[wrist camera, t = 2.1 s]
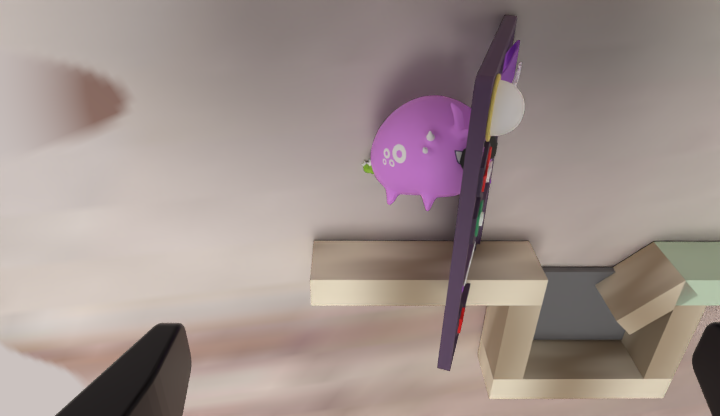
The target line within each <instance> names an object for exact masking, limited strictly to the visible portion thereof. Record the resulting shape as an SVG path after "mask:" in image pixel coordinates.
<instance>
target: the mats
mask: <svg viewBox="0 0 720 416" xmlns="http://www.w3.org/2000/svg"><path fill="white" fill-rule="evenodd" d="M542 268H543V271H544V273H545V275H546V277H547V279H548V283H547V287H546V291H545V295H544V299H543V303H542V306H541V310H540V314H539V318H538V322H537V326H536V330H535V334H534V337H533V340H622V338H623V336H624V333H625V331H626V330H625V329H624V328H623V327H622V326H621V325H620V324H619V323H618V322H617V321H616V320H615V318H614V316H613V315H612V313H611V311H610V310H609V308H608V306H607V305H606V303H605V301H604V300H603V298H602V296H601V295H600V293H599V291H598V290H597V288H596V286H595V285H596V284H598V283H599V282H601V281H602V280H604V279H605V278H607V277H609V276H610V275H612V274H613V273H615V270H614V269H613V267H542Z"/></svg>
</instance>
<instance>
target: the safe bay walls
mask: <svg viewBox="0 0 720 416" xmlns="http://www.w3.org/2000/svg"><path fill="white" fill-rule="evenodd" d="M654 243H655V244H656V245H657V247H658V248H659V249H660V250H661V251H662V253H663V254H664V255H665V256H666V258H667V259H668V260H669V261H670V262H671V264H672V265H673V266H674V267H675V268H676V270H677V271H678V272H679V273H680V274H681V276H682V277H683V278H684V279H685V280H686V281H685V284H686V282H687V283H688V284H689V286H688V284H687V287H689V288H692V289H691V290H689V288H688V289H686V291H687V290H689V291H692V290H694V292H696V293H695V294H697V295H695V294H694V293H693V292H692V293H689V292H688V293H689V294H688V293H687V294H686V293H685V291H684V292H683V291H682V292H681V293H683V294H685V295H686V297H685V295H683V294H681V293H680V294H681V295H683V298H682V296H679V298H680V297H681V298H682V300H683V302H682V300H681V298H680V300H679V298H678V301H679V302H680V301H681V302H680V303H679V302H677V303H679V304H676V305H680V304H681V303H683V304H681V305H720V242H654ZM690 286H691V287H690ZM684 287H685V285H684ZM687 287H686V288H687ZM682 289H683V288H682ZM692 294H693V295H692ZM690 295H692V296H693V298H692V296H690ZM694 295H695V296H696V297H695V298H694ZM687 296H688V297H689V298H690V297H691V298H692V299H691V298H690V300H688V298H687ZM684 298H685V299H684ZM686 298H687V300H688V301H687V300H686ZM684 301H685V302H686V303H685V302H684Z"/></svg>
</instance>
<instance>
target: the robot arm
mask: <svg viewBox="0 0 720 416" xmlns="http://www.w3.org/2000/svg"><path fill="white" fill-rule="evenodd" d="M692 365H693V369H694V372H695V375H696V377H697V380H698V382H699V384H700V387H701V389H702V392H703V394H704V397H705V399H706V402H707V404H708V407H709V409H710V411H711V414H712V416H720V322H713V323H710V324H709V325H708V326H707V327H706V328H705V330H704V333H703V335H702V337H701V339H700V341H699V343H698V345H697V347H696V349H695V351H694V353H693V357H692ZM190 373H191V354H190V349H189V345H188V340H187V335H186V331H185V328H184V326H183V325H182V324H180V323H159V324H157V325H155V326H154V327H153V328H152V329H151V330H150V331H148V332H147V333H146V334H145V335H144V336H143V337H142V338H141V339H140V340H138V341H137V342H136V343H135V344H134V345H133V346H132V347H131V348H130V349H128V350H127V351H126V352H125V353H124V354H123V355H122V356H121V357H120V358H119V359H117V360H116V361H115V362H114V363H113V364H112V365H111V366H110V367H109V368H107V369H106V370H105V371H104V372H103V373H102V374H101V375H100V376H99V377H97V378H96V379H95V380H94V381H93V382H92V383H91V384H90V385H89V386H87V387H86V388H85V389H84V390H83V391H82V392H81V393H80V394H79V395H78V396H76V397H75V398H74V399H73V400H72V401H71V402H70V403H69V404H68V405H66V406H65V407H64V408H63V409H62V410H61V411H60V412H59V413H57V414H56V415H55V416H182V415H183V409H184V404H185V399H186V394H187V388H188V383H189V378H190Z"/></svg>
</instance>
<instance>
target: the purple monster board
mask: <svg viewBox="0 0 720 416" xmlns="http://www.w3.org/2000/svg"><path fill="white" fill-rule="evenodd" d="M516 22H517V16H512V15H505V16H504V18H503V20H502V22H501V24H500V26H499V29H498V31H497V33H496V35H495V37H494V39H493V41H492V44H491V46H490V48H489V50H488V52H487V54H486V56H485V58H484V61H483V63H482V65H481V67H480V69H479V71H478V73H477V76H476V80H475V85H474V91H473V99H472V107H471V108H470V107H468V106H467V105H465V104H463V103H462V102H460V101H458V100H455V99H452V98H449V97H445V96H439V95H430V96H423V97H419V98H416V99H413V100H411V101H409V102H407V103H405V104H404V105H402V106H400V107H399V108H398V109H396V110H395V111H394V112H393V113H392V114H391V115H390V116H389V117H388V118H387V119H386V120H385V121H384V122H383V124H382V125H381V127H380V128H379V130H378V132H377V134H376V136H375V138H374V141H373V144H372V149H371V160H369V159H368V162H365V160H364V164H362V165H363V169H364V171H365V172H366V173H372V174H374V175H375V177H376V178H377V180H378V181H379V182H380V183H381V184H382V185H383V186H384V187H385V189H386V194H387V203H388V204H389V205H390V204H392V203H393V202H394V201H395V199H396V198H397V196H398V195H400V194H406V195H421V197H422V199H423V203H424V206H425V209H426V211H429V210H430V208H431V206H432V204H433V203H434V201H435V199H436V198H438V197H449V196H455V195H458V194H460V198H459V206H458V213H457V221H456V229H455V236H454V244H453V252H452V259H451V267H450V274H449V282H448V290H447V297H446V305H445V313H444V320H443V328H442V335H441V343H440V351H439V358H438V366H437V368H440V369H444V370H447V371H450V368H451V364H452V360H453V356H454V352H455V348H456V344H457V339H458V335H459V333H460V331H461V326H462V322H463V316H464V311H465V306H466V302H467V298H468V294H469V290H470V284H471V283H466V280H467V276H468V272H469V268H470V265H471V260H472V257H473V252H474V251H475V250H476V245H477V244H480V242H481V236H482V230H483V224H484V218H485V212H486V206H487V199H488V193H489V187H490V184H491V175H492V169H493V163H494V157H495V154H496V149H497V138H498V136H501V135H505V134H507V133H509V132H511V131H512V130H514V129H515V128H516V127H517V126H518V125H519V123H520V122H521V120H522V118H523V116H524V112H525V102H524V98H523V96H522V94H521V92H520V91H519V89H518V88H517V84H518V80H519V76H520V72H521V66H522V62H519V65H518V69H517V73H516V76H515V80H514V82H513V84H511V83H512V81H513V78H514V75H515V69H516V63H517V57H518V51H519V45H520V40H517V42H515V43H514V44H513V40H514V34H515V28H516Z"/></svg>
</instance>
